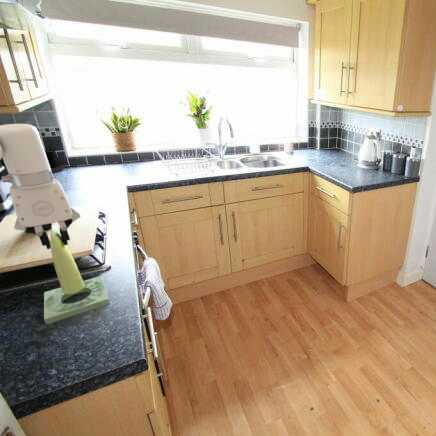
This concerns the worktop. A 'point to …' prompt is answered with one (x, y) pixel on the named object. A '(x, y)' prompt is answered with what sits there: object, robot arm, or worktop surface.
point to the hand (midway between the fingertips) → (57, 244)
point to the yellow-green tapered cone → (64, 264)
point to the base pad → (59, 311)
